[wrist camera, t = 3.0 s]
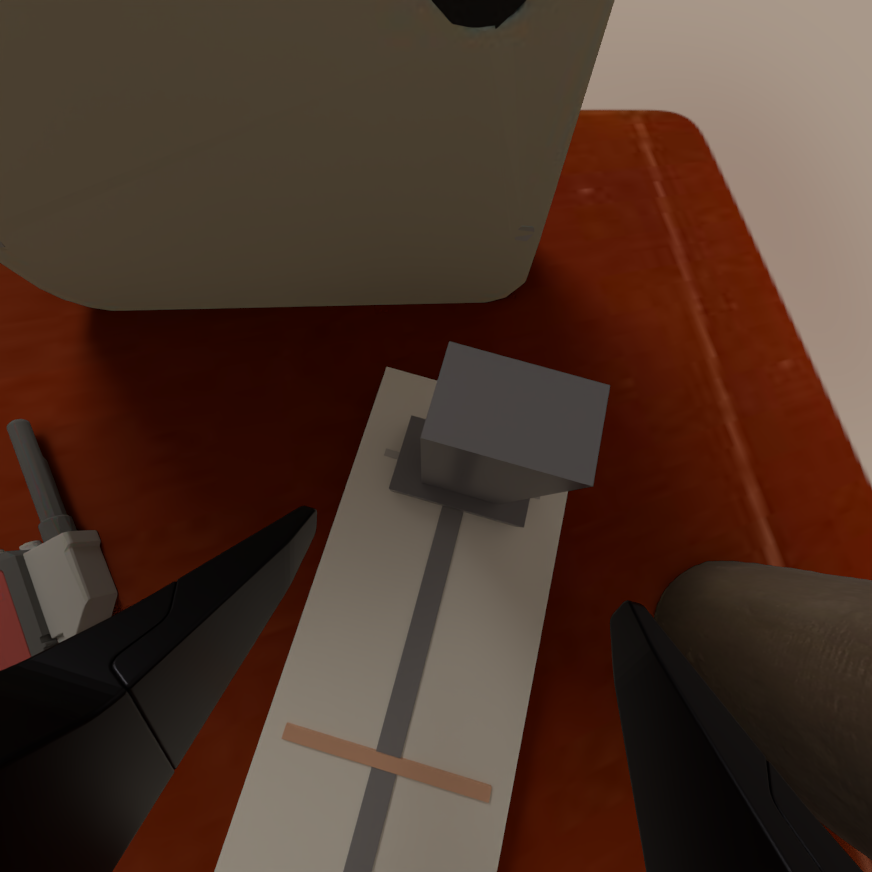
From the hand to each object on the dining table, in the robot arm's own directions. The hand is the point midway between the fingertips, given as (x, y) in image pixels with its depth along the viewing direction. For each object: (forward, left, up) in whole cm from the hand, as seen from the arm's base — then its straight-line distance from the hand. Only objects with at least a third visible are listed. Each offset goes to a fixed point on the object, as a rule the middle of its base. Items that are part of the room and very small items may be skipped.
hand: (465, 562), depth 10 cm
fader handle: (+4, 0, -9) cm, 10 cm away
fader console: (-4, 0, -11) cm, 12 cm away
